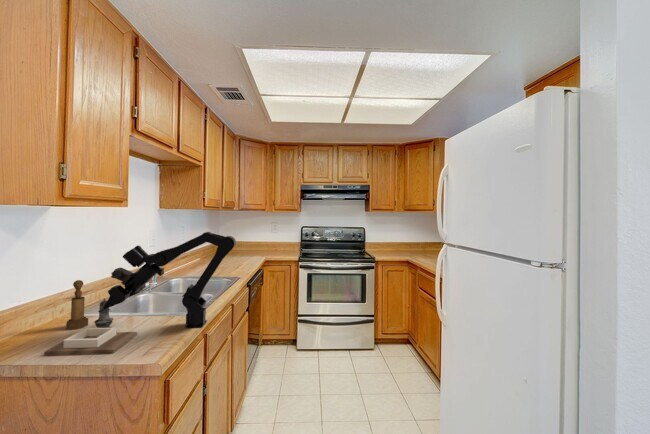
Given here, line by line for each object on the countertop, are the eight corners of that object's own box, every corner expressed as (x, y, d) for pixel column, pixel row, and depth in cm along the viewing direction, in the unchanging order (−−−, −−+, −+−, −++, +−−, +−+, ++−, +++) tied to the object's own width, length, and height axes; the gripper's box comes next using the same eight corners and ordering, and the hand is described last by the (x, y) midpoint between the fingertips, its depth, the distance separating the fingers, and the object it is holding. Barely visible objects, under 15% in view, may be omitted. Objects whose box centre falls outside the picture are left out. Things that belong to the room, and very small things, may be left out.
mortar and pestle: (84, 328, 110) (85, 281, 110) (62, 330, 107) (63, 282, 107) (90, 322, 116) (91, 278, 116) (70, 324, 114) (71, 279, 114)
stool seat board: (137, 335, 105) (137, 325, 105) (113, 353, 91) (113, 341, 91) (77, 336, 103) (78, 326, 103) (44, 355, 89) (44, 343, 89)
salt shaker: (117, 327, 112) (117, 296, 112) (104, 333, 106) (104, 301, 106) (103, 326, 112) (104, 295, 112) (89, 332, 106) (90, 300, 106)
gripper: (138, 257, 120) (107, 284, 118) (115, 265, 102) (78, 296, 99) (158, 276, 121) (128, 302, 119) (138, 286, 103) (103, 318, 101)
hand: (110, 304), depth 110 cm, fingers open, 9 cm apart
